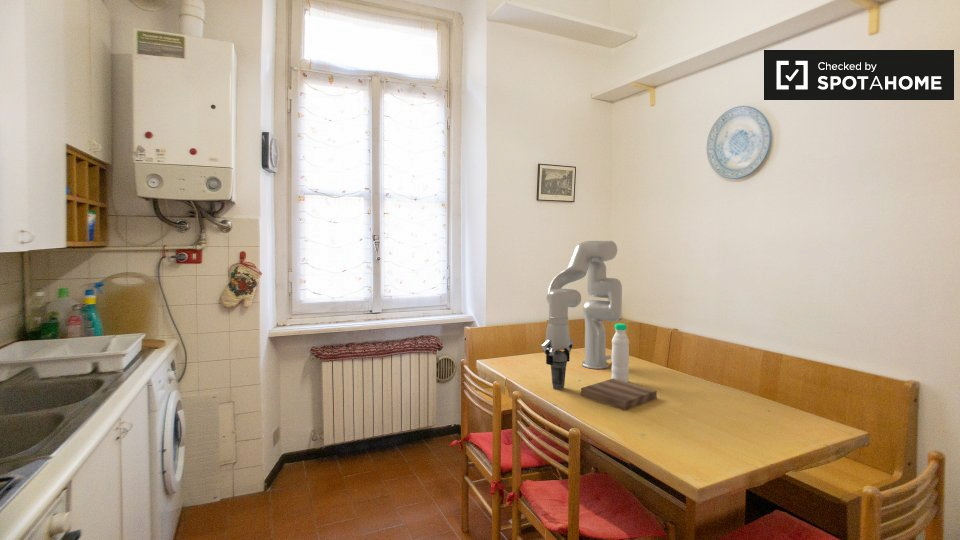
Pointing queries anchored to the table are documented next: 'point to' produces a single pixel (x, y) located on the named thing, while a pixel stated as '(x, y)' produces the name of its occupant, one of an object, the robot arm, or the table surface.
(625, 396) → the walnut base board
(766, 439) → the table surface
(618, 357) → the water bottle
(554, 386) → the beverage cup
